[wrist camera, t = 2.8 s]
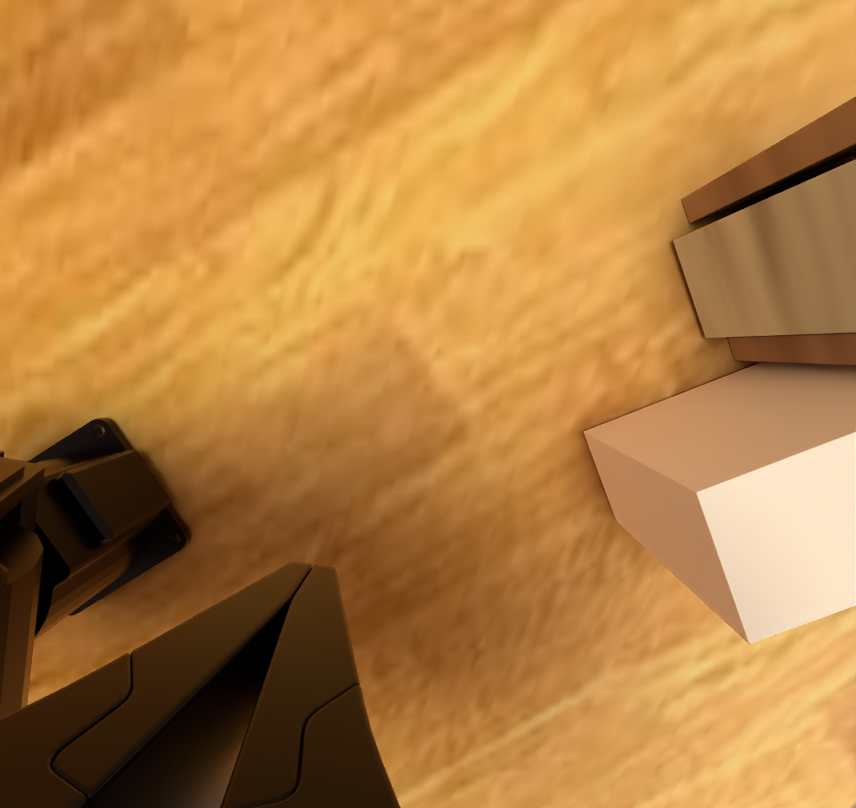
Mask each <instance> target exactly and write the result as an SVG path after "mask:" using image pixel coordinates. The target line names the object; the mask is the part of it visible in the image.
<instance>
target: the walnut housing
mask: <svg viewBox="0 0 856 808" xmlns="http://www.w3.org/2000/svg"><path fill="white" fill-rule="evenodd" d="M854 156H856V97H854V98H853V99H851V100H849V101H848V102H846V103H844V104H842V105H841V106H839V107H837V108H836V109H834V110H832V111H831V112H829V113H827V114H825V115H824V116H822V117H820V118H819V119H817V120H815V121H814V122H812V123H810V124H809V125H807V126H805V127H803V128H802V129H800V130H798V131H797V132H795V133H793V134H792V135H790V136H788V137H786V138H785V139H783V140H781V141H780V142H778V143H776V144H775V145H773V146H771V147H770V148H768V149H766V150H764V151H763V152H761V153H759V154H758V155H756V156H754V157H753V158H751V159H749V160H748V161H746V162H744V163H742V164H741V165H739V166H737V167H736V168H734V169H732V170H731V171H729V172H727V173H725V174H724V175H722V176H720V177H719V178H717V179H715V180H714V181H712V182H710V183H709V184H707V185H705V186H703V187H702V188H700V189H698V190H697V191H695V192H693V193H692V194H690V195H688V196H687V197H685V198H683V199H681V200H682V203H683V206H684V209H685V212H686V215H687V218H688V221H689V223H691V222H693V221H696V220H698V219H701V218H703V217H706V216H708V215H711V214H713V213H716V212H718V211H721V210H723V209H726V208H728V207H731V206H733V205H736V204H738V203H740V202H743V201H745V200H748V199H750V198H753V197H755V196H758V195H760V194H763V193H765V192H768V191H770V190H773V189H775V188H778V187H780V186H783V185H785V184H788V183H790V182H792V181H795V180H797V179H800V178H802V177H805V176H807V175H810V174H812V173H815V172H817V171H820V170H822V169H825V168H827V167H830V166H832V165H835V164H837V163H839V162H842V161H844V160H847V159H849V158H852V157H854ZM673 243H674V246H675V249H676V251H677V254H678V257H679V260H680V263H681V266H682V269H683V272H684V275H685V278H686V281H687V284H688V287H689V290H690V293H691V296H692V299H693V302H694V305H695V308H696V311H697V314H698V317H699V320H700V323H701V326H702V329H703V332H704V335H705V338H718V337H729V338H728V341H729V344H730V347H731V350H732V353H733V356H734V359H735V360H736V361H762V362H787V363H813V364H839V365H856V159H855V160H853V161H851V162H848V163H846V164H844V165H842V166H839V167H837V168H835V169H832V170H830V171H828V172H826V173H823V174H821V175H819V176H817V177H814V178H812V179H810V180H808V181H805V182H803V183H801V184H799V185H796V186H794V187H792V188H790V189H787V190H785V191H783V192H781V193H778V194H776V195H774V196H772V197H769V198H767V199H765V200H763V201H760V202H758V203H756V204H754V205H751V206H749V207H747V208H745V209H742V210H740V211H738V212H736V213H733V214H731V215H729V216H727V217H724V218H722V219H720V220H718V221H715V222H713V223H711V224H709V225H706V226H704V227H702V228H699V229H697V230H695V231H693V232H690V233H688V234H686V235H684V236H681V237H679V238H677V239H675V240H673Z"/></svg>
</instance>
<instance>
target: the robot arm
mask: <svg viewBox="0 0 856 808" xmlns="http://www.w3.org/2000/svg"><path fill="white" fill-rule="evenodd" d="M100 425H101V426H102V427H103V428H104V430H105V433H104V435H102V434H101V433H100V432H99V426H100ZM174 534H177V535H178V536H179V537H180V539H181V541H180V542H177V541H176V540H175V539H174V537H173V535H174ZM190 539H191V534H190V532H189V530H188V529H187V527H186V526H185V524H184V523H183V521H182V520H181V519H180V517H179V516H178V514H177V513H176V511H175V510H174V508H173V507H172V506H171V504H170V503H169V497H168V496H167V494H166V493H165V491H164V490H163V488H162V487H161V486H160V484H159V483H158V481H157V480H156V478H155V477H154V475H153V474H152V473H151V471H150V470H149V468H148V467H147V465H146V464H145V462H144V461H143V460H142V458H141V457H140V455H139V454H138V453H137V452H136V451H133V449H132V448H131V447H130V445H129V444H128V442H127V441H126V439H125V438H124V436H123V435H122V434H121V432H120V431H119V429H118V428H117V426H116V425H115V423H114V422H113V421H112V420H110V419H108V418H99V419H95V420H92V421H90V422H89V423H87V424H86V425H84V426H83V427H81V428H79V429H78V430H76V431H75V432H73V433H72V434H70V435H69V436H67V437H65V438H64V439H62V440H61V441H59V442H58V443H56V444H55V445H53V446H52V447H50V448H48V449H47V450H45V451H44V452H42V453H41V454H39V455H38V456H36V457H34V458H33V459H31V460H30V461H28V462H25V461H19V460H13V459H8V458H4V451H0V808H400V805H399V803H398V800H397V798H396V795H395V793H394V790H393V787H392V785H391V782H390V780H389V777H388V775H387V772H386V770H385V767H384V765H383V762H382V759H381V757H380V754H379V751H378V748H377V745H376V742H375V739H374V736H373V734H372V731H371V727H370V723H369V719H368V715H367V712H366V708H365V704H364V699H363V694H362V690H361V687H360V683H359V678H358V673H357V669H356V664H355V659H354V655H353V650H352V645H351V640H350V636H349V631H348V626H347V621H346V617H345V612H344V607H343V602H342V598H341V593H340V588H339V584H338V579H337V574H336V570H335V568H333V567H327V566H320V565H316V566H314V567H312V565H310V564H305V563H298V562H291V563H289V564H287V565H285V566H283V567H282V568H280V569H278V570H276V571H275V572H273V573H271V574H269V575H267V576H266V577H264V578H262V579H260V580H259V581H257V582H255V583H253V584H251V585H250V586H248V587H246V588H244V589H242V590H241V591H239V592H237V593H235V594H234V595H232V596H230V597H228V598H226V599H225V600H223V601H221V602H219V603H218V604H216V605H214V606H212V607H210V608H209V609H207V610H205V611H203V612H201V613H200V614H198V615H196V616H194V617H193V618H191V619H189V620H187V621H185V622H184V623H182V624H180V625H178V626H177V627H175V628H173V629H171V630H169V631H168V632H166V633H164V634H162V635H160V636H159V637H157V638H155V639H153V640H152V641H150V642H148V643H146V644H144V645H143V646H141V647H139V648H137V649H136V650H134V651H132V653H131V655H130V654H125V655H123V656H121V657H120V658H118V659H116V660H114V661H113V662H111V663H109V664H107V665H105V666H104V667H102V668H100V669H98V670H96V671H94V672H92V673H90V674H89V675H87V676H85V677H83V678H81V679H79V680H77V681H75V682H74V683H72V684H70V685H68V686H66V687H64V688H62V689H60V690H58V691H56V692H54V693H52V694H50V695H48V696H46V697H44V698H42V699H40V700H38V701H36V702H34V703H32V704H30V705H28V706H27V702H28V692H29V683H30V673H31V664H32V654H33V645H34V640H35V639H36V638H38V637H39V636H40V635H42V634H43V633H44V632H46V631H47V630H48V629H50V628H51V627H53V626H54V625H55V624H57V623H58V622H59V621H61V620H62V619H63V618H65V617H66V616H67V615H75V614H77V613H79V612H81V611H82V610H84V609H85V608H87V607H89V606H90V605H92V604H94V603H95V602H97V601H98V600H100V599H102V598H103V597H105V596H107V595H108V594H110V593H111V592H113V591H115V590H116V589H118V588H120V587H121V586H123V585H124V584H126V583H128V582H129V581H131V580H133V579H134V578H136V577H137V576H139V575H141V574H142V573H144V572H145V571H147V570H149V569H150V568H152V567H154V566H155V565H157V564H158V563H160V562H162V561H163V560H165V559H167V558H168V557H170V556H171V555H173V554H175V553H176V552H178V551H180V550H181V549H182V548H184V547H185V546H186V545H187V544H188V543H189V541H190Z"/></svg>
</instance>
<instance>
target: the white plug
mask: <svg viewBox="0 0 856 808" xmlns="http://www.w3.org/2000/svg"><path fill="white" fill-rule="evenodd" d="M583 432H584V435H585V438H586V441H587V443H588V446H589V449H590V451H591V454H592V457H593V459H594V462H595V465H596V468H597V470H598V473H599V476H600V478H601V481H602V484H603V486H604V489H605V492H606V495H607V497H608V500H609V503H610V505H611V508H612V511H613V513H614V516H615V519H616V522H618V523H619V524H620V525H621V526H622V527H623V528H624V529H625V530H626V531H627V532H628V533H629V534H631V535H632V536H633V537H634V538H635V539H636V540H637V541H638V542H639V543H640V544H641V545H642V546H644V547H645V548H646V549H647V550H648V551H649V552H650V553H651V554H652V555H653V556H654V557H655V558H657V559H658V560H659V561H660V562H661V563H662V564H663V565H664V566H665V567H666V568H667V569H669V570H670V571H671V572H672V573H673V574H674V575H675V576H676V577H677V578H678V579H679V580H680V581H682V582H683V583H684V584H685V585H686V586H687V587H688V588H689V589H690V590H691V591H692V592H693V593H695V594H696V595H697V596H698V597H699V598H700V599H701V600H702V601H703V602H704V603H705V604H706V605H708V606H709V607H710V608H711V609H712V610H713V611H714V612H715V613H716V614H717V615H718V616H719V617H721V618H722V619H723V620H724V621H725V622H726V623H727V624H728V625H729V626H730V627H731V628H732V629H734V630H735V631H736V632H737V633H738V634H739V635H740V636H741V637H742V638H743V639H744V640H746V641H747V642H748V643H749V644H751V643H754V642H757V641H759V640H762V639H765V638H768V637H770V636H773V635H776V634H778V633H781V632H784V631H787V630H789V629H792V628H795V627H798V626H800V625H803V624H806V623H809V622H811V621H814V620H817V619H820V618H822V617H825V616H828V615H831V614H833V613H836V612H839V611H842V610H844V609H847V608H850V607H852V606H855V605H856V365H839V364H813V363H787V362H761V363H758V364H756V365H753V366H750V367H748V368H745V369H743V370H740V371H738V372H735V373H732V374H730V375H727V376H725V377H722V378H720V379H717V380H714V381H712V382H709V383H707V384H704V385H702V386H699V387H696V388H694V389H691V390H689V391H686V392H684V393H681V394H678V395H676V396H673V397H671V398H668V399H666V400H663V401H660V402H658V403H655V404H653V405H650V406H648V407H645V408H642V409H640V410H637V411H635V412H632V413H630V414H627V415H624V416H622V417H619V418H617V419H614V420H612V421H609V422H606V423H604V424H601V425H599V426H596V427H594V428H591V429H588V430H586V431H583Z"/></svg>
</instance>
